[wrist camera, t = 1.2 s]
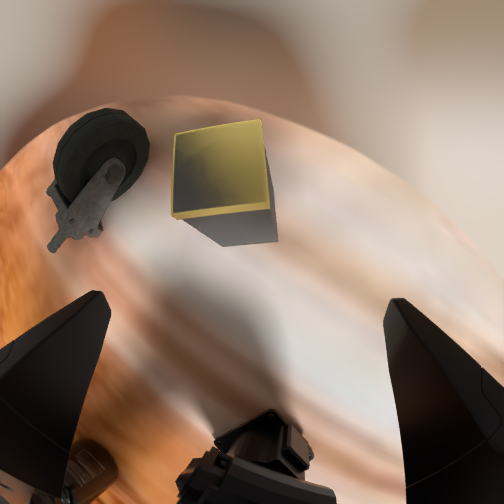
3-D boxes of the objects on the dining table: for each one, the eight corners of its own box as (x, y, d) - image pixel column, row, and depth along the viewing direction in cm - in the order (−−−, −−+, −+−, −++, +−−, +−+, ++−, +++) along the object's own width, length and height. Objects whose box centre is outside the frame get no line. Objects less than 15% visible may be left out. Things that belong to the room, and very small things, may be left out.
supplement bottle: (68, 433, 22) (2, 464, 11) (105, 439, 22) (34, 482, 10) (90, 477, 21) (34, 515, 9) (129, 485, 21) (72, 536, 9)
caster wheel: (144, 139, 27) (54, 237, 25) (104, 81, 18) (-7, 209, 16) (173, 166, 26) (74, 273, 24) (134, 104, 16) (6, 253, 15)
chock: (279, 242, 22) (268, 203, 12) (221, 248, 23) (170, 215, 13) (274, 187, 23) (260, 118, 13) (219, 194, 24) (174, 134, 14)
